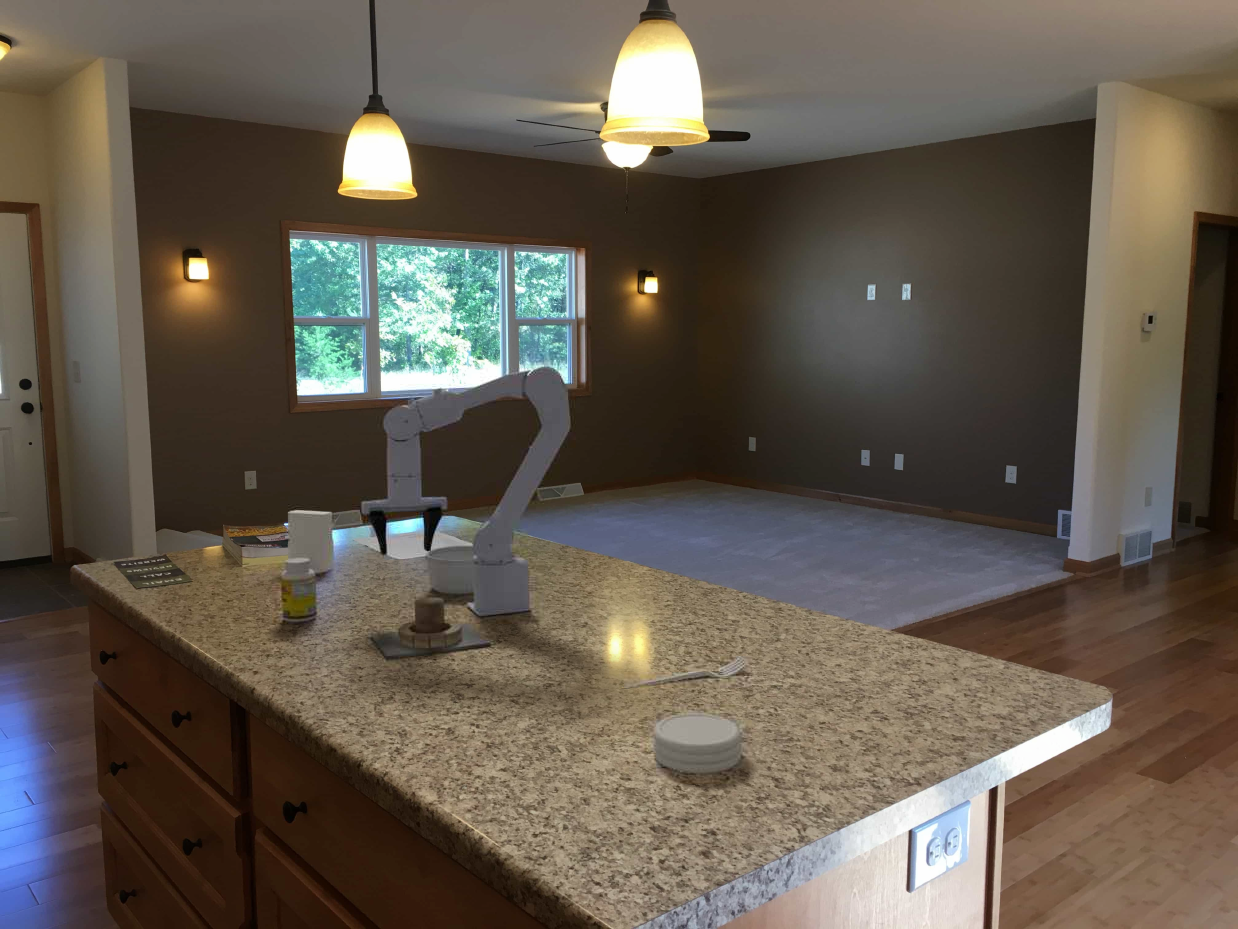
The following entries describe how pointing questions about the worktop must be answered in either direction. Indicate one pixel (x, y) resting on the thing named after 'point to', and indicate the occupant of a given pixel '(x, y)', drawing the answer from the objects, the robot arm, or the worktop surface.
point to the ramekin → (451, 569)
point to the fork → (699, 673)
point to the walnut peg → (429, 615)
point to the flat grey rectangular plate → (428, 640)
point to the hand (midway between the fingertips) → (405, 551)
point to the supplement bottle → (298, 591)
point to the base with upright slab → (311, 538)
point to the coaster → (697, 743)
